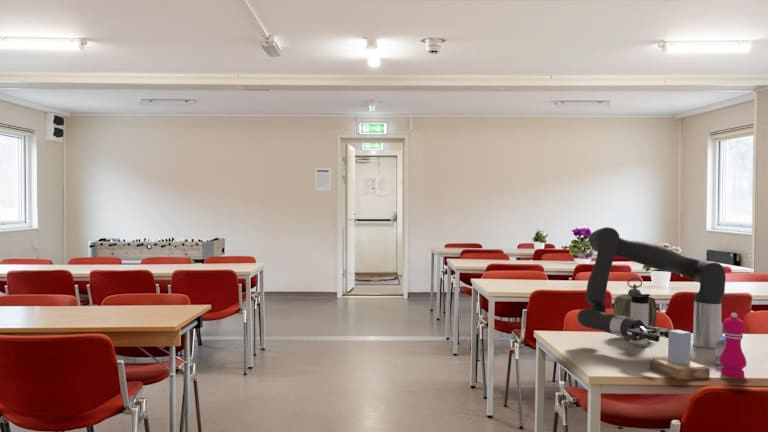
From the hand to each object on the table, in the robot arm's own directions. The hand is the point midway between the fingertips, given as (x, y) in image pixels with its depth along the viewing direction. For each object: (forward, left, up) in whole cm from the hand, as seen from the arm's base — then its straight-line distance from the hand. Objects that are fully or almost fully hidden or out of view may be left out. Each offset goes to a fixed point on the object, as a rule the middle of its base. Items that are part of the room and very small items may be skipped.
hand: (667, 337), depth 180 cm
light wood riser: (-1, +4, -10) cm, 11 cm away
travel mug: (-15, -31, -11) cm, 36 cm away
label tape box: (-26, -3, -11) cm, 28 cm away
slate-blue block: (-1, +4, -7) cm, 8 cm away
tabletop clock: (-21, -42, -11) cm, 48 cm away
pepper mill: (-17, +9, -11) cm, 22 cm away
